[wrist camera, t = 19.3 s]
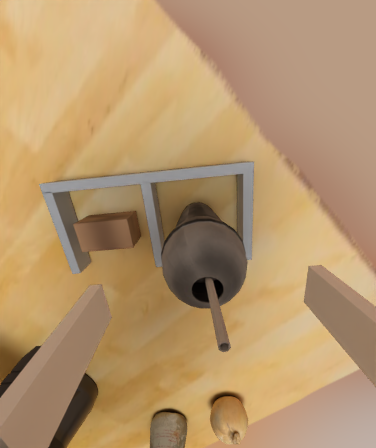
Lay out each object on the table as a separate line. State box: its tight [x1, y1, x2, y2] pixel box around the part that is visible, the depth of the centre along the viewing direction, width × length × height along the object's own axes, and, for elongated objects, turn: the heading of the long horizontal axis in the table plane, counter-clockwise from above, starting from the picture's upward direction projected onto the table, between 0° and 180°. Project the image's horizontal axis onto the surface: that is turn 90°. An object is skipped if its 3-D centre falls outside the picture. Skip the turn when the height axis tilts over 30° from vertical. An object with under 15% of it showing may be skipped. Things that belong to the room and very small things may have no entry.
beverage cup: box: [161, 202, 247, 352], centre depth 17 cm, size 7×7×20 cm
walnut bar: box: [73, 211, 141, 252], centre depth 25 cm, size 7×4×4 cm, turn 96°
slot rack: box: [39, 162, 254, 274], centre depth 25 cm, size 26×13×3 cm, turn 96°
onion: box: [210, 396, 248, 445], centre depth 38 cm, size 8×8×7 cm
